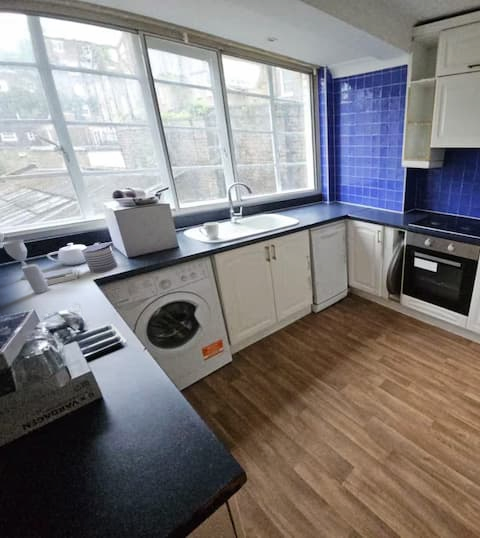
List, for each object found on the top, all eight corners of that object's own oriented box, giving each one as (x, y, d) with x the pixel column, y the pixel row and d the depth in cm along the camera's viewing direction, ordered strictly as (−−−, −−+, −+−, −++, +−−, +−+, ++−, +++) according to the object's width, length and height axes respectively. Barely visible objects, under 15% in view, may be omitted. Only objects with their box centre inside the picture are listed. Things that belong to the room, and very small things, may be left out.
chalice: (41, 272, 147) (24, 238, 140) (41, 276, 143) (23, 241, 136) (20, 277, 143) (1, 242, 135) (19, 281, 138) (-1, 245, 131)
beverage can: (32, 294, 125) (18, 268, 120) (38, 289, 129) (24, 264, 125) (46, 292, 127) (33, 266, 122) (52, 287, 131) (39, 262, 126)
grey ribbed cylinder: (111, 271, 147) (102, 248, 142) (85, 274, 144) (75, 251, 140) (122, 263, 157) (114, 241, 152) (97, 265, 155) (88, 243, 150)
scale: (38, 287, 132) (35, 281, 131) (41, 278, 140) (39, 273, 139) (77, 278, 140) (74, 273, 139) (77, 271, 148) (75, 266, 147)
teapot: (51, 271, 149) (42, 251, 145) (52, 263, 158) (43, 245, 154) (106, 259, 162) (99, 241, 158) (104, 253, 172) (97, 235, 167)
